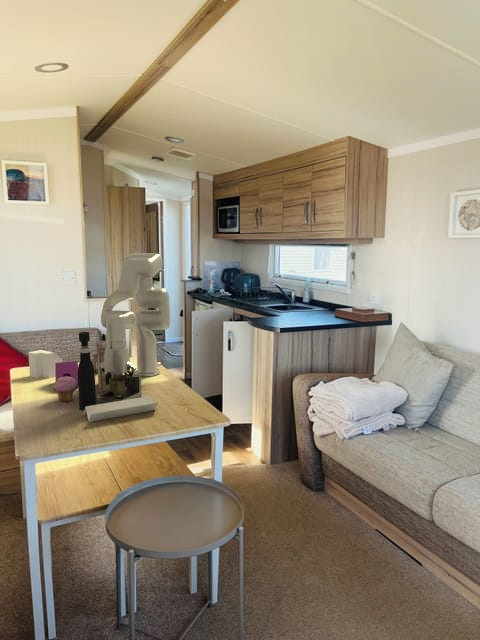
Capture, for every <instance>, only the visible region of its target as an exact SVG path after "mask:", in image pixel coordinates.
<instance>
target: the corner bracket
mask: <svg viewBox="0 0 480 640" xmlns="http://www.w3.org/2000/svg"><path fill="white" fill-rule="evenodd" d="M60 362H64V359H62V358H61V357H59V355H58V354H56V353H55V351H54V352H52V351H49V350H43V349H39V350H35V351H33V350H32V351H29V352H28V364H29V365H28V366H29V377H31V378H34V379H38V378H45V379H46V378H47V379H52V378H55V363H60Z"/></svg>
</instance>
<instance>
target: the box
mask: <svg viewBox="0 0 480 640" xmlns="http://www.w3.org/2000/svg"><path fill="white" fill-rule="evenodd" d="M105 341H106V340H97V341H95V342H96V343H95V344H96V345H95V346H96V352H97V368H98V372H97V383H98V387H99V390H100V395H101V394H103V393H105V392H108V391H110V384H108V385H106V379H105V375H104V373H103V371H102V370H101V367H100V365H99V364H100V363H102V362H104V354H105V348H106V347H107V344H105ZM110 374H112V377H113V374H114V373H112V372H110ZM116 374H120V373H116Z"/></svg>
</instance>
